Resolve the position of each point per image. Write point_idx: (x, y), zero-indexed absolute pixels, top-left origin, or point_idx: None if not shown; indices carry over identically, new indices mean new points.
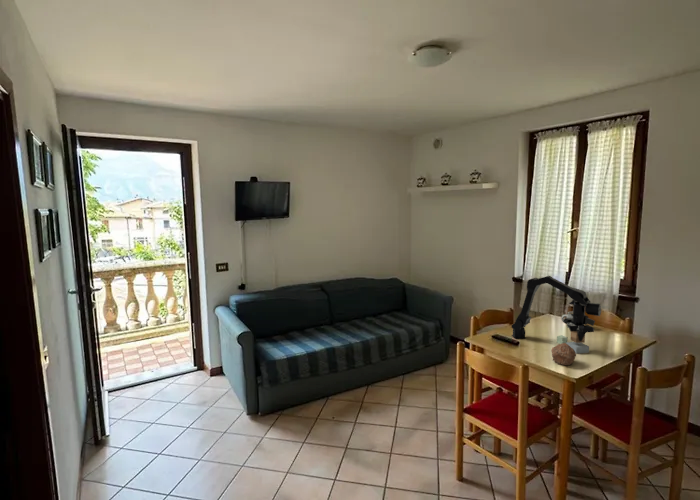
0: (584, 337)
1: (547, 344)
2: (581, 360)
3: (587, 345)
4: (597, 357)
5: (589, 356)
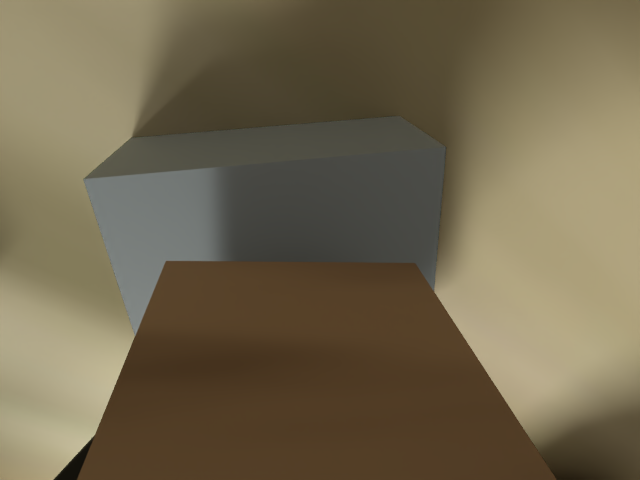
0: (477, 374)
1: (8, 473)
2: (578, 376)
3: (397, 151)
4: (607, 130)
5: (530, 220)
